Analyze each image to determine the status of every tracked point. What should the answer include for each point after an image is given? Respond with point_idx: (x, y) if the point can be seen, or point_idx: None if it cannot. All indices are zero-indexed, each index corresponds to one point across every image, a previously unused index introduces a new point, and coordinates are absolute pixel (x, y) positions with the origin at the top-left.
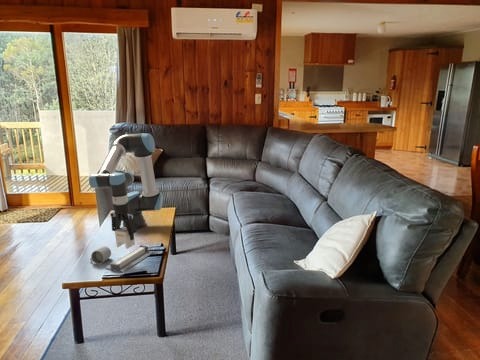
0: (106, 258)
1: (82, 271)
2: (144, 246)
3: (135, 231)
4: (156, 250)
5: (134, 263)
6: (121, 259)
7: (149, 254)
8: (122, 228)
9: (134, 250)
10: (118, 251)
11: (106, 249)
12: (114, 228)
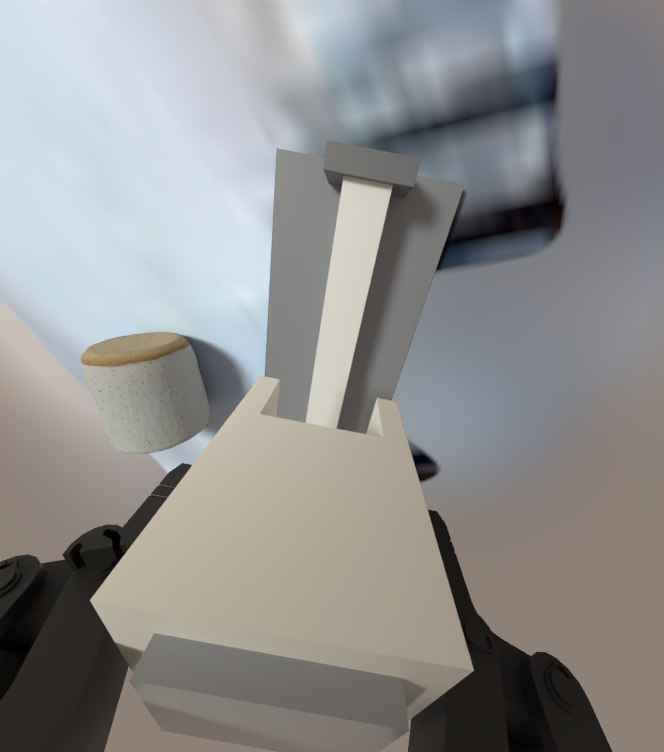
0: (204, 391)
1: (183, 460)
2: (385, 176)
3: (572, 716)
4: (477, 121)
5: (386, 385)
6: (312, 411)
7: (443, 246)
8: (222, 723)
9: (278, 190)
10: (158, 222)
11: (151, 391)
12: (13, 642)
